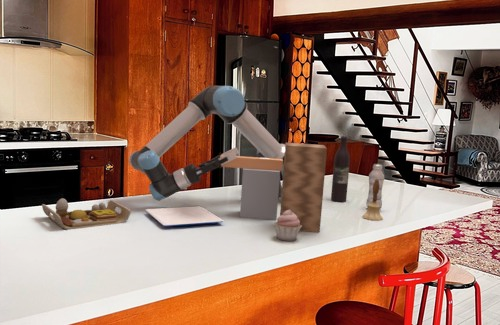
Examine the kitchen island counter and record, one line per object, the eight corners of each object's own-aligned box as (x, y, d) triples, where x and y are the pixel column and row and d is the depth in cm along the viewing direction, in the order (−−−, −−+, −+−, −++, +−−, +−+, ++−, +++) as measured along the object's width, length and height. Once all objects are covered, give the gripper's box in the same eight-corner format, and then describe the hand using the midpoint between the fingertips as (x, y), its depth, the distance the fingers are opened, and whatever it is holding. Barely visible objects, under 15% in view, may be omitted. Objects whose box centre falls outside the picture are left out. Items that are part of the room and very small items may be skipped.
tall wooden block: (280, 229, 180) (286, 145, 176) (279, 222, 190) (285, 142, 186) (319, 232, 180) (326, 148, 176) (316, 224, 190) (323, 145, 186)
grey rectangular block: (239, 217, 194) (242, 169, 191) (241, 211, 204) (244, 165, 201) (276, 219, 193) (280, 172, 191) (275, 213, 203) (279, 168, 201)
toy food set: (58, 232, 162) (58, 208, 161) (40, 218, 176) (41, 197, 175) (131, 223, 177) (132, 201, 176) (110, 211, 191) (111, 191, 190)
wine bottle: (329, 200, 234) (334, 136, 230) (332, 198, 241) (338, 135, 237) (344, 203, 232) (350, 137, 227) (347, 200, 238) (353, 136, 234)
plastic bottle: (381, 212, 218) (386, 166, 215) (365, 210, 219) (370, 164, 217) (381, 208, 224) (385, 164, 222) (365, 207, 226) (369, 162, 223)
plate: (163, 230, 170) (163, 224, 170) (144, 214, 190) (144, 209, 189) (224, 226, 181) (224, 220, 180) (200, 211, 200) (200, 205, 200)
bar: (219, 166, 194) (220, 156, 194) (220, 165, 198) (220, 154, 198) (282, 170, 194) (283, 160, 193) (281, 169, 198) (282, 158, 197)
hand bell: (383, 217, 209) (387, 179, 207) (382, 221, 201) (386, 182, 199) (363, 214, 212) (367, 176, 209) (360, 218, 204) (364, 179, 202)
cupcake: (293, 244, 163) (295, 214, 162) (267, 238, 168) (270, 209, 167) (305, 238, 171) (308, 209, 170) (281, 232, 176) (283, 204, 175)
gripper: (196, 179, 210) (242, 156, 208) (187, 191, 185) (239, 165, 183) (188, 163, 209) (234, 140, 207) (178, 172, 184) (230, 147, 182)
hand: (236, 152), depth 195 cm, fingers open, 13 cm apart
